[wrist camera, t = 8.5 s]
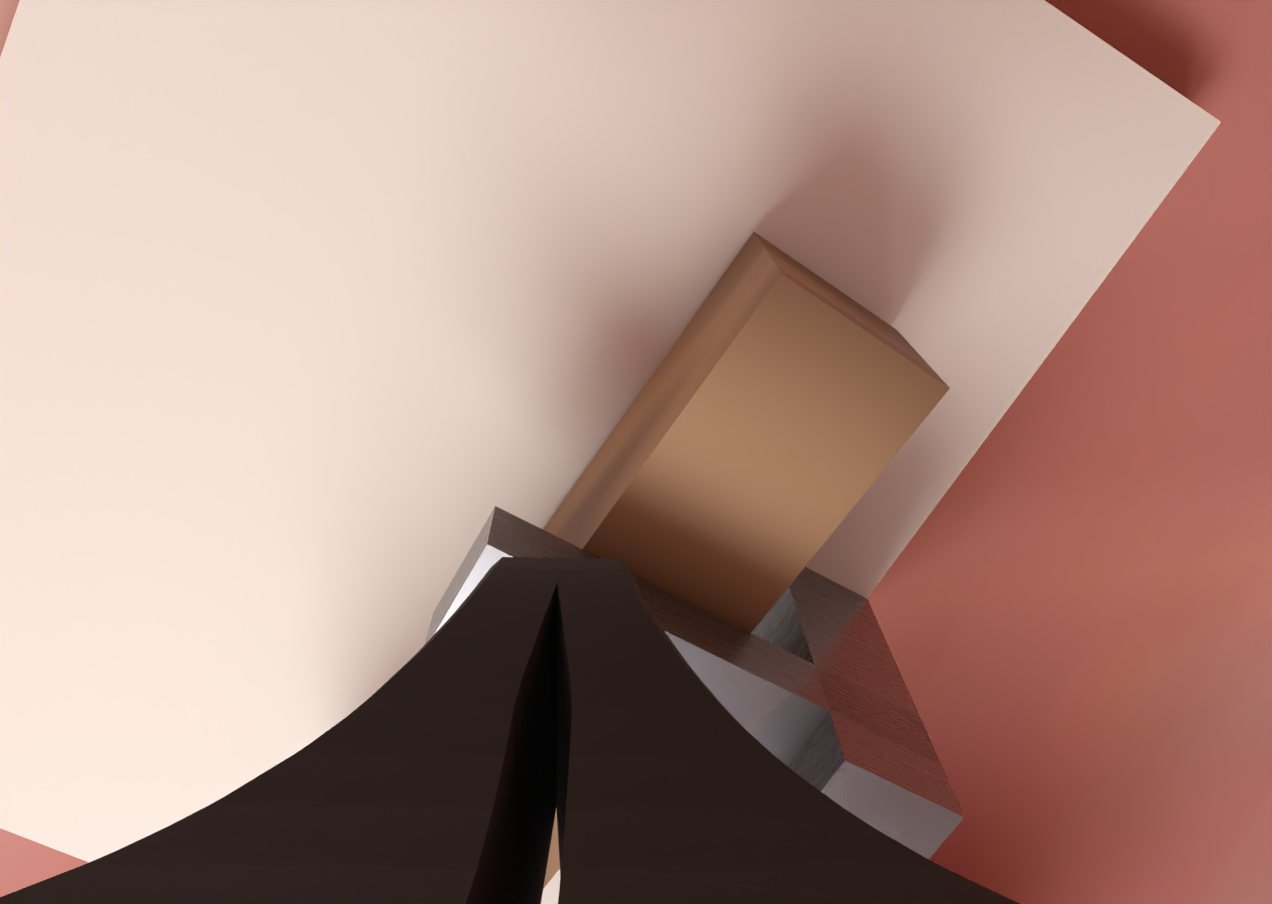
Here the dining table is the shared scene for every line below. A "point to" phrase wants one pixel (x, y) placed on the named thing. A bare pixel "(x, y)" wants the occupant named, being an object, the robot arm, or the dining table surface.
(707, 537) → the walnut link
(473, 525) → the white plate
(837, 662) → the metal keeper
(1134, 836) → the dining table surface
